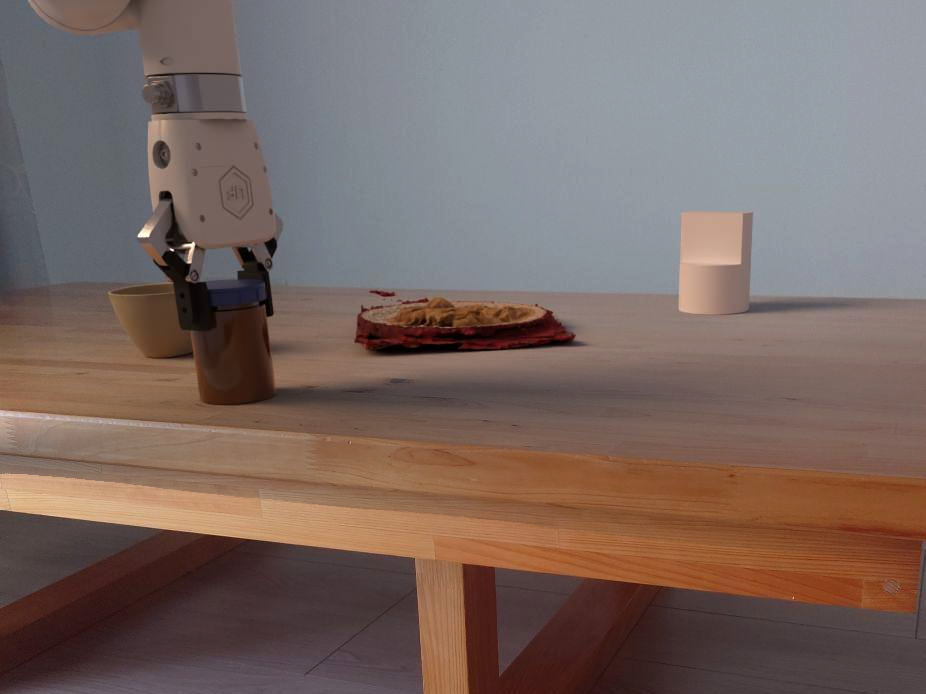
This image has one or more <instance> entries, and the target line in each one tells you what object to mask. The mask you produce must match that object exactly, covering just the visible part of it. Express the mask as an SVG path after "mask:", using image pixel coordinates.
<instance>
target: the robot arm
mask: <svg viewBox="0 0 926 694" xmlns="http://www.w3.org/2000/svg"><path fill="white" fill-rule="evenodd" d="M27 2H28V4H29V5H30V7H31V9H32V10H33V11H34V12H35V13H36V14H37V15H38V16H39V17H40V18H41V19H42V20H43V21H44V22H45V23H47V24H48V25H50V26H52V27H53V28H55V29H57V30H59V31H61V32H64V33H67V34H72V35H77V36H93V35H95V36H96V35H103V34H109V33H117V32H124V31H134V30H137V35H138V40H139V47H140V53H141V58H142V59H141V60H142V66H143V73H144V77H145V85H143V87H142V88H141V96H142V99H143V100H144V101H145V102H146V103H147V104H149V112H150V115H151V116H150V117H151V120H149V121H148V123H147V167H148V181H149V192H150V199H151V206H152V207H151V208H152V213H151V215H150V216H149V218H148V219H147V221H146V222H145V224H144V225H143V226H142V228H141V230H140V231H139V233H138V234H137V242H138V244H139V245H140V247H142V248H143V250H144V251H145V252H146V253H147V254H148V256H149V257H150V258H152V261H153V263H154V265H155V266H156V267H158V268H159V270H160V271H161V272H162V273H163V274H164V278H165V280H166V282H167V283H170V282H173V286H174V293H175V299H176V305H177V312H178V318H179V324H180V328H181V329H182V330H191V331H210V330H212V327H213V323H212V316H211V309H210V302H209V295H208V288H207V285H206V282H204V281H200V280H201V276H202V270H203V265H204V262H205V261H204V260H205V256H206V250H216V249H224V248H231V249H232V251H233V253H234V255H235V257H236V259H237V260H238V262H239V265H240V266H241V268H242V269H241V270H236V273H237V274H236V275H237V279H253V280H262V281H264V282H265V287H266V291H267V298H266V299H265V300H262V301H259V302H263V303H265V307H266V315H267V318H271V317H273V316H274V315H275V311H274V302H273V296H272V286H271V278H270V271H271V270H273V267H274V261H273V257H274V255H275V253H276V251H277V249H278V241H279V239H280V237H281V235H282V232H283V229H284V222H283V220H282V219H281V218H280V216H279V215H278V214H277V213H275V205H274V200H273V194H272V193H273V192H272V187H271V183H270V178H269V177H270V176H269V171H268V168H267V163H266V158H265V155H264V150H263V146H262V142H261V140H260V137H259V133H258V130H257V128H256V125H255V122H254V120H251V119H248V113H247V111H248V110H247V104H246V97H245V88H244V87H245V86H244V79H243V73H242V72H243V71H242V63H241V55H240V48H239V47H240V46H239V39H238V31H237V24H236V15H235V7H234V0H27ZM249 248H250V249H249ZM186 255H187V259H186V260H187V261H185V256H186Z"/></svg>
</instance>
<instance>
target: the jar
mask: <svg viewBox="0 0 926 694" xmlns="http://www.w3.org/2000/svg"><path fill="white" fill-rule="evenodd" d="M210 309H211V316H212V323H213V327H212V330H210V331H191V330H190V334H191V341H192V347H193V351H192V354H193V360H194V366H195V371H196V372H195V374H196V381H197V386H198V394H199V399H200V401H201V402H203V403H206V404H210V405H219V406H221V405H222V406H223V405H224V406H226V405H231V406H232V405H242V404H251V403H257V402H260V401H264V400H268V399H271V398H273V397H274V396H275V395H276V394H277V389H276V380H275V374H274V373H275V371H274V365H273V357H272V356H273V355H272V349H271V348H272V347H271V342H270V333H269V325H268V317H267V315H266V307H265V303H263V302H254V303H248V304H240V305H229V306H210Z"/></svg>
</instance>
